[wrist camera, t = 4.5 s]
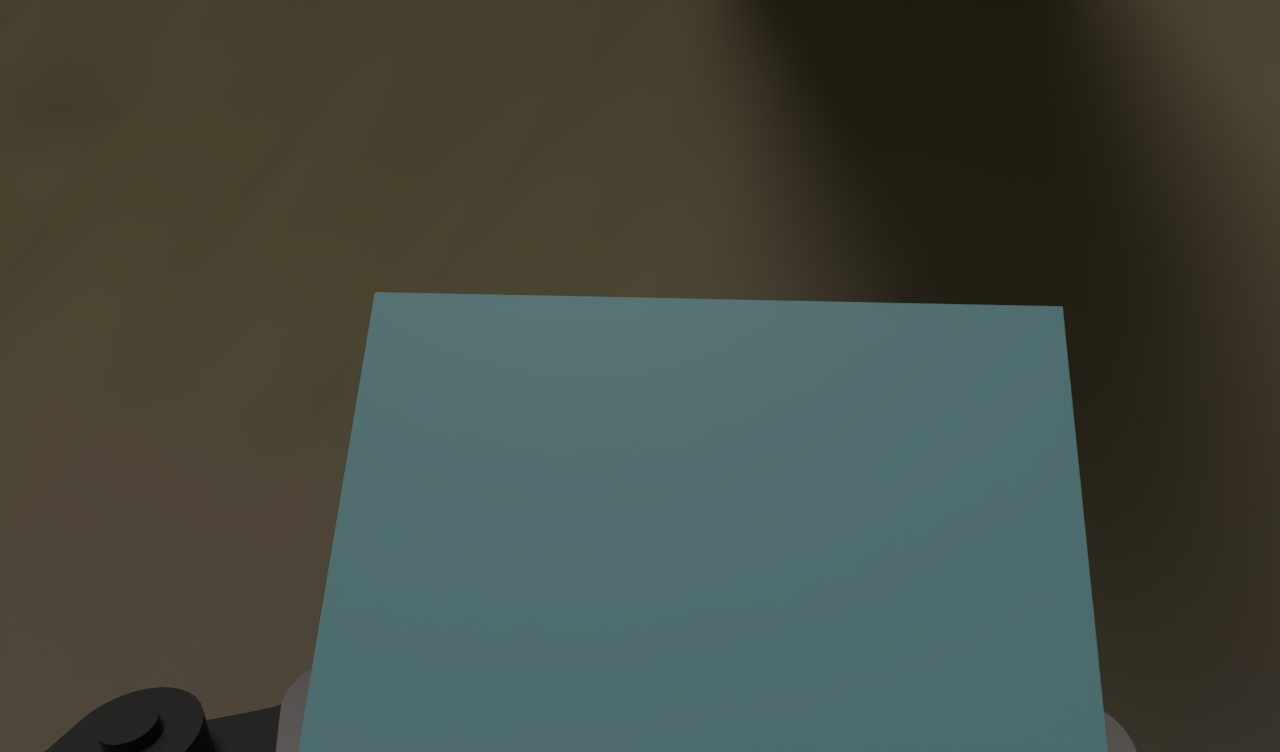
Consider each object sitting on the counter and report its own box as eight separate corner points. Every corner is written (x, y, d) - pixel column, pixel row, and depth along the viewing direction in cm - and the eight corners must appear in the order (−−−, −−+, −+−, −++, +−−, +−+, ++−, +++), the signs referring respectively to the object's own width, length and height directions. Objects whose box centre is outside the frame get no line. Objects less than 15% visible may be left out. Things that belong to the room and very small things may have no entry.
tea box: (844, 563, 18) (1061, 306, 7) (849, 854, 16) (1151, 1177, 5) (582, 551, 18) (366, 291, 7) (560, 833, 17) (234, 1081, 5)
